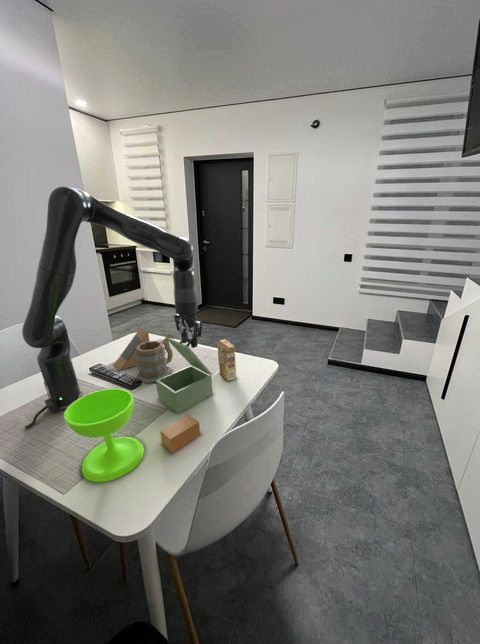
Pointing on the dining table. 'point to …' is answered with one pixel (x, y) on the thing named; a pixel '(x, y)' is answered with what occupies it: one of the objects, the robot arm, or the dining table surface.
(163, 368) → the tankard
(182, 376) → the bin
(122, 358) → the sandwich container
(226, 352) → the candy box
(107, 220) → the robot arm
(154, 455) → the dining table surface
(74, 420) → the wineglass
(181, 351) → the lid
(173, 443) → the orange-brown rectangular block
